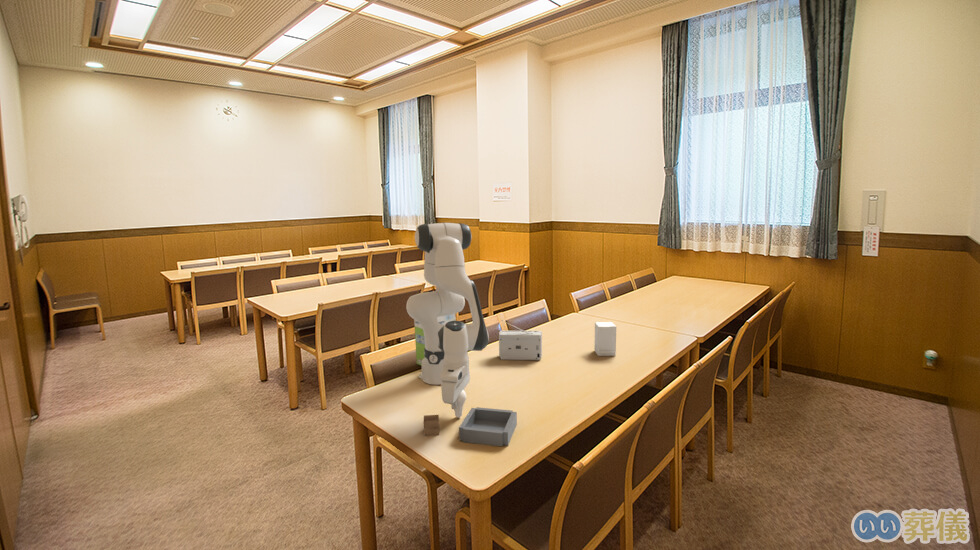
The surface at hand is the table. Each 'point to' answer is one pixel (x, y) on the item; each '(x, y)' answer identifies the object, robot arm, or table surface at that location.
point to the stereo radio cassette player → (520, 345)
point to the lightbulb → (460, 404)
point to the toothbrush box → (420, 336)
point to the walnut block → (431, 425)
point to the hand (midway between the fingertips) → (457, 404)
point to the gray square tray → (488, 426)
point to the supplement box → (605, 339)
